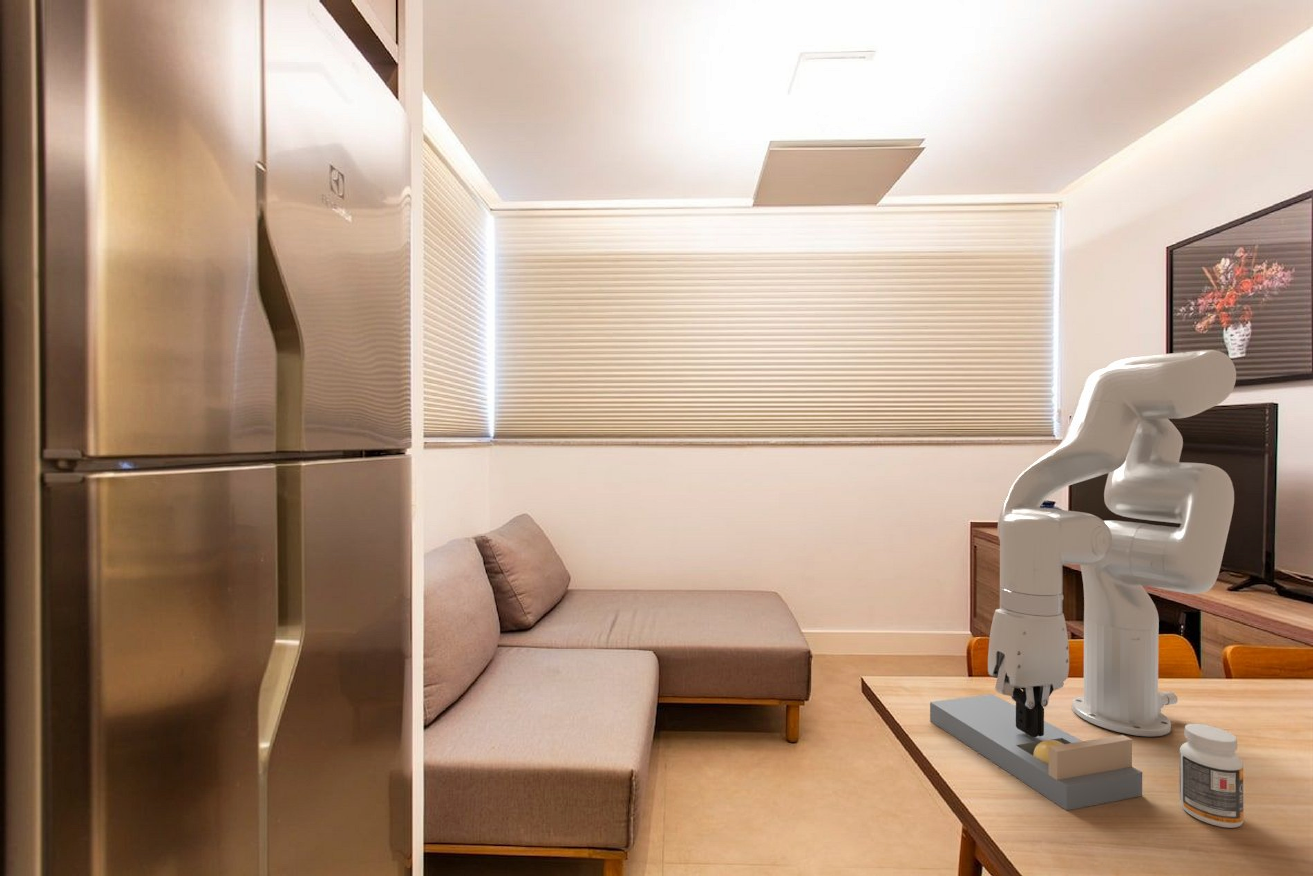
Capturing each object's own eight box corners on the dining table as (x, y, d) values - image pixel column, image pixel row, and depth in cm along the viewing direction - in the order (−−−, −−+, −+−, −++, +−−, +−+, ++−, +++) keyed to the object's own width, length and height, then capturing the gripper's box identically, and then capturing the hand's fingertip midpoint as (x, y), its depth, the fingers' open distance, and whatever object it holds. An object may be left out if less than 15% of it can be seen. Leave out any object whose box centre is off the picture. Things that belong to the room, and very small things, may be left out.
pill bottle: (1256, 833, 70) (1257, 746, 70) (1198, 826, 71) (1199, 741, 71) (1221, 804, 76) (1222, 723, 76) (1168, 798, 77) (1168, 719, 77)
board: (992, 712, 100) (992, 672, 100) (1142, 795, 77) (1142, 744, 77) (930, 720, 97) (930, 680, 97) (1066, 810, 74) (1066, 757, 74)
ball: (1088, 790, 78) (1054, 775, 83) (1088, 748, 79) (1054, 736, 84) (1056, 788, 77) (1023, 773, 82) (1057, 745, 78) (1024, 733, 83)
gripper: (1049, 592, 92) (1048, 714, 92) (966, 598, 88) (965, 726, 88) (1097, 605, 85) (1096, 738, 85) (1008, 613, 81) (1007, 752, 81)
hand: (1029, 731), depth 86 cm, fingers closed
